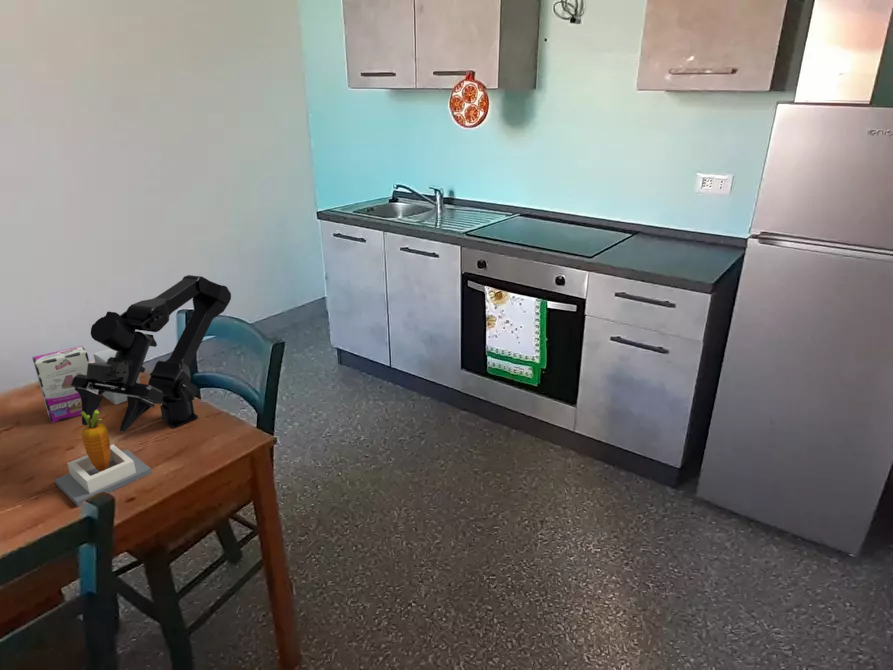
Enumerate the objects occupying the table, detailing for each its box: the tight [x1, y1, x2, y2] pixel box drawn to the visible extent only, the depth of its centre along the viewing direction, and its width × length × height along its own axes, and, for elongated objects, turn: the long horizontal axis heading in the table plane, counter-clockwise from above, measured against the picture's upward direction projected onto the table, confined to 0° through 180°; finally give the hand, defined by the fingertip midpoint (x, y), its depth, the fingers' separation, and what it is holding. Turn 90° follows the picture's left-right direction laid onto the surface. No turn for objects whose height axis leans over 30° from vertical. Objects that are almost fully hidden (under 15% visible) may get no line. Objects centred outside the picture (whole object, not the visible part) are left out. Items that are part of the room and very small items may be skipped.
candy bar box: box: [31, 345, 101, 424], centre depth 155 cm, size 11×5×16 cm, turn 129°
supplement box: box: [92, 348, 141, 405], centre depth 164 cm, size 7×7×13 cm
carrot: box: [81, 410, 111, 472], centre depth 131 cm, size 5×5×15 cm
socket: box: [54, 444, 153, 507], centre depth 133 cm, size 15×11×4 cm
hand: (102, 428), depth 131 cm, fingers open, 9 cm apart
